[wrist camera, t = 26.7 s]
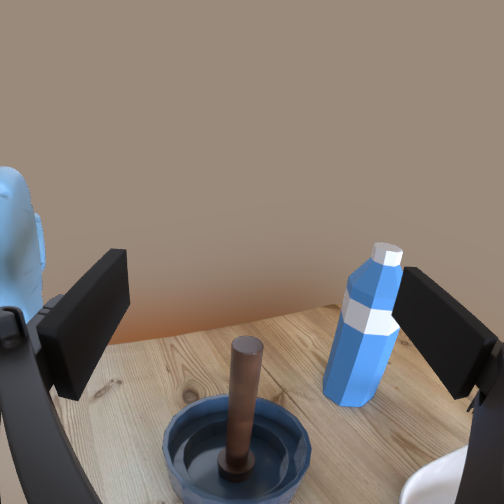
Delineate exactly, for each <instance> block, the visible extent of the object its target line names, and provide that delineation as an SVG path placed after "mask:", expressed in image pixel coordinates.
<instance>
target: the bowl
mask: <svg viewBox="0 0 504 504" xmlns="http://www.w3.org/2000/svg"><path fill="white" fill-rule="evenodd" d="M228 397H229V394H221V395H216V396H210V397H205V398H202V399H200V400H198V401H196V402H193V403H191V404H189V405H187V406H186V407H185V408H183V409H182V410H181V411H180V412H178V413H177V414H176V415H175V416H174V417H173V418H172V420H171V422H170V423H169V425H168V427H167V428H166V430H165V433H164V440H163V447H162V449H163V454H164V459H165V463H166V467H167V472H168V475H169V479H170V482H171V485H172V488H173V490H174V492H175V493H176V494H177V495H178V497H179V498H180V499H181V500H182V501H183V503H184V504H289V503H290V502H291V500H292V499H293V497H294V496H295V494H296V492H297V491H298V489H299V487H300V485H301V483H302V481H303V479H304V476H305V474H306V472H307V470H308V467H309V464H310V457H311V450H312V448H311V444H310V441H309V437H308V433H307V431H306V430H305V428H304V427H303V426H302V424H301V423H300V422H299V420H298V419H297V418H296V417H295V416H294V415H293V414H291V413H290V412H289V411H287V410H286V409H285V408H283V407H282V406H280V405H278V404H275V403H273V402H271V401H268V400H266V399H264V398H259V397H257V399H256V406H255V413H254V420H253V427H252V434H251V441H250V447H249V450H250V451H251V452H252V453H253V454H254V456H255V465H254V470H253V474H252V476H251V477H250V478H249V479H248V480H246V481H244V482H239V483H233V482H229V481H226V480H224V479H223V478H222V477H221V476H220V475H219V473H218V470H217V457H218V454H219V452H220V451H221V450H222V449H224V448H225V447H226V433H227V415H228Z"/></svg>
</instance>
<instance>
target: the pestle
mask: <svg viewBox="0 0 504 504" xmlns="http://www.w3.org/2000/svg"><path fill="white" fill-rule="evenodd" d="M263 347H264V346H263V343H262V342H261V341H260V340H259V339H258V338H255V337H252V336H240V337H237V338H235V339H234V340H233V342H232V348H231V364H230V380H229V397H228V415H227V433H226V447H225V448H224V449H222V450H221V451H220V452H219V454H218V457H217V470H218V473H219V475H220V476H221V477H222V478H223V479H224V480H226V481H229V482H233V483H239V482H244V481H246V480H248V479H249V478H250V477H251V476H252V474H253V470H254V465H255V456H254V454H253V453H252V452H251V451H250V450H249V447H250V441H251V434H252V427H253V420H254V413H255V406H256V399H257V392H258V385H259V377H260V370H261V362H262V355H263Z"/></svg>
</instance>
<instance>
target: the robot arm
mask: <svg viewBox="0 0 504 504" xmlns="http://www.w3.org/2000/svg"><path fill="white" fill-rule="evenodd" d="M45 265H46V263H45V245H44V236H43V229H42V224H41V219H40V216H39V215H38V214H36V213H34V210H33V206H32V204H31V197H30V192H29V189H28V186H27V184H26V181H25V179H24V178H23V176H22V175H21V174H20V173H19V172H18V171H17V170H15V169H13V168H11V167H5V166H2V167H0V422H1V412H2V417H3V422H4V427H5V431H6V435H7V439H8V443H9V447H10V451H11V455H12V458H13V462H14V465H15V468H16V472H17V475H18V478H19V481H20V484H21V487H22V489H23V492H24V495H25V498H26V500H27V503H28V504H102V502H101V500H100V499H99V497H98V495H97V494H96V492H95V490H94V488H93V487H92V485H91V483H90V481H89V479H88V478H87V476H86V474H85V472H84V470H83V468H82V466H81V464H80V462H79V460H78V458H77V456H76V454H75V452H74V450H73V448H72V446H71V444H70V442H69V439H68V437H67V435H66V433H65V430H64V428H63V426H62V423H61V421H60V419H59V416H58V414H57V411H56V409H55V406H54V403H53V401H52V398H51V396H50V393H49V391H50V389H51V387H52V386H53V384H54V386H55V388H56V391H57V393H58V396H59V397H63V398H67V399H71V400H75V401H79V399H80V397H81V395H82V393H83V391H84V389H85V387H86V385H87V383H88V381H89V379H90V377H91V375H92V373H93V371H94V369H95V367H96V365H97V363H98V361H99V360H100V358H101V356H102V354H103V352H104V350H105V348H106V346H107V345H108V343H109V341H110V339H111V337H112V335H113V334H114V332H115V330H116V328H117V326H118V324H119V323H120V321H121V319H122V318H123V316H124V314H125V312H126V310H127V309H128V307H129V305H130V296H129V284H128V270H127V254H126V250H125V249H110V250H109V251H108V252H107V253H106V254H105V255H104V256H103V257H102V258H101V259H100V260H98V261H97V263H95V264H94V265H93V266H92V267H91V269H89V270H88V271H87V272H86V273H85V274H84V275H83V276H82V277H81V278H80V279H79V280H78V281H77V283H76V284H75V285H74V286H73V287H72V288H71V289H70V290H69V291H68V292H67V293H66V294H65V295H62V294H59V295H58V296H56V297H54V298H52V299H50V300H49V301H48V302H47V303H46V304H45V305H44V306H43V300H42V295H41V291H42V271H43V270H44V269H45ZM391 316H392V317H393V318H394V320H395V321H396V322H397V323H398V325H399V326H400V327H401V329H402V330H403V331H404V332H405V334H406V335H407V336H408V338H409V339H410V340H411V341H412V343H413V344H414V345H415V347H416V348H417V349H418V351H419V352H420V353H421V354H422V356H423V357H424V358H425V360H426V361H427V362H428V364H429V365H430V366H431V368H432V369H433V371H434V372H435V373H436V375H437V376H438V377H439V379H440V380H441V381H442V383H443V384H444V386H445V387H446V388H447V390H448V391H449V393H450V394H451V395H452V397H453V398H454V400H456V399H460V398H464V397H468V396H469V394H470V392H471V391H472V389H473V387H474V385H475V384H476V386H477V387H478V388H479V391H478V392H477V394H476V396H475V397H474V399H473V401H472V402H471V404H470V406H469V407H468V409H467V411H466V412H469V411H470V409H471V408H473V407H474V410H473V412H472V414H473V419H472V426H471V432H470V438H469V444H468V450H467V455H466V460H465V464H464V469H463V473H462V477H461V481H460V485H459V489H458V493H457V496H456V500H455V503H454V504H504V343H502V342H501V341H500V340H499V339H498V337H497V336H496V335H495V334H494V333H492V332H491V331H490V330H489V329H488V328H487V327H486V326H485V325H484V324H483V323H482V322H481V321H479V320H478V319H477V318H476V317H475V316H474V315H472V313H470V312H469V311H468V310H467V309H466V308H465V307H464V306H463V305H461V304H460V303H459V302H458V301H457V300H456V299H454V298H453V297H452V296H451V295H450V294H449V293H447V292H446V291H445V290H444V289H443V288H441V287H440V286H439V285H438V284H437V283H435V282H434V281H433V280H432V279H431V278H429V277H428V276H427V275H426V274H424V273H423V272H422V271H421V270H419V269H418V268H417V267H404V270H403V274H402V278H401V282H400V286H399V289H398V293H397V297H396V300H395V303H394V307H393V310H392V314H391ZM0 504H1V498H0Z"/></svg>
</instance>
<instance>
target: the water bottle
mask: <svg viewBox="0 0 504 504" xmlns="http://www.w3.org/2000/svg"><path fill="white" fill-rule="evenodd" d="M402 253H403V251H402V249H401V248H400V247H397V246H395V245H392V244H387V243H381V242H379V243H374V246H373V251H372V256H371V258H370V259H369V260H367V261H366V262H365V263H364V264H363V265H361V266H360V267H359V268H358V269H357V270H356V271H354V272H353V273H352V274H351V275H350V276H349V277H348V283H347V287H346V291H345V296H344V300H343V305H342V309H341V313H340V317H339V321H338V326H337V330H336V333H335V337H334V341H333V345H332V349H331V353H330V356H329V360H328V364H327V367H326V371H325V374H324V378H323V394H324V395H325V396H327V397H328V398H329V399H331V400H332V401H333V402H335V403H336V404H338V405H339V406H349V407H362V406H363V405H364V404H365V403H367V402H368V401H369V400H370V399H372V398H373V396H374V394H375V392H376V389H377V387H378V385H379V382H380V380H381V377H382V375H383V372H384V370H385V367H386V365H387V362H388V360H389V357H390V354H391V352H392V349H393V346H394V343H395V341H396V338H397V335H398V332H399V329H400V326H399V325H398V323H397V322H396V321H395V320H394V318H393V317H392V316H391V314H392V310H393V307H394V303H395V300H396V297H397V293H398V289H399V286H400V282H401V278H402V274H403V272H402V269H401V267H400V261H401V257H402Z"/></svg>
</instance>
